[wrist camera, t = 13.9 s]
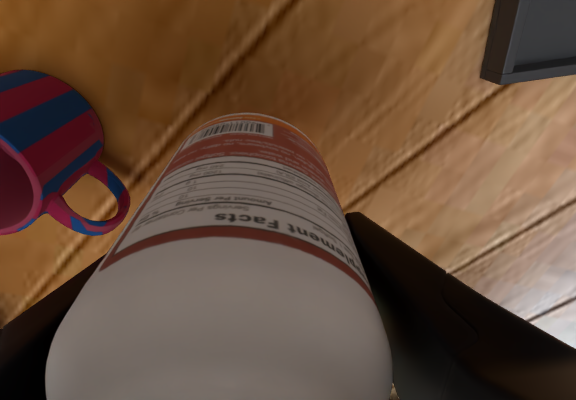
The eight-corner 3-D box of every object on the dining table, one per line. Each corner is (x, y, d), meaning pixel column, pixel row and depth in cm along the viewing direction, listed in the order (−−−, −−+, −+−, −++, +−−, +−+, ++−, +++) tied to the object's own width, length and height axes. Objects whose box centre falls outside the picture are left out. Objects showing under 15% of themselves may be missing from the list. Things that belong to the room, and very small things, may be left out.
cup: (16, 42, 17) (-111, 63, 11) (168, 161, 21) (133, 220, 16) (-34, 123, 19) (-161, 176, 13) (113, 217, 24) (65, 286, 18)
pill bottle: (260, 264, 15) (239, 705, 5) (143, 189, 13) (-251, 741, 3) (358, 178, 13) (613, 669, 3) (240, 68, 10) (-108, 702, 1)
